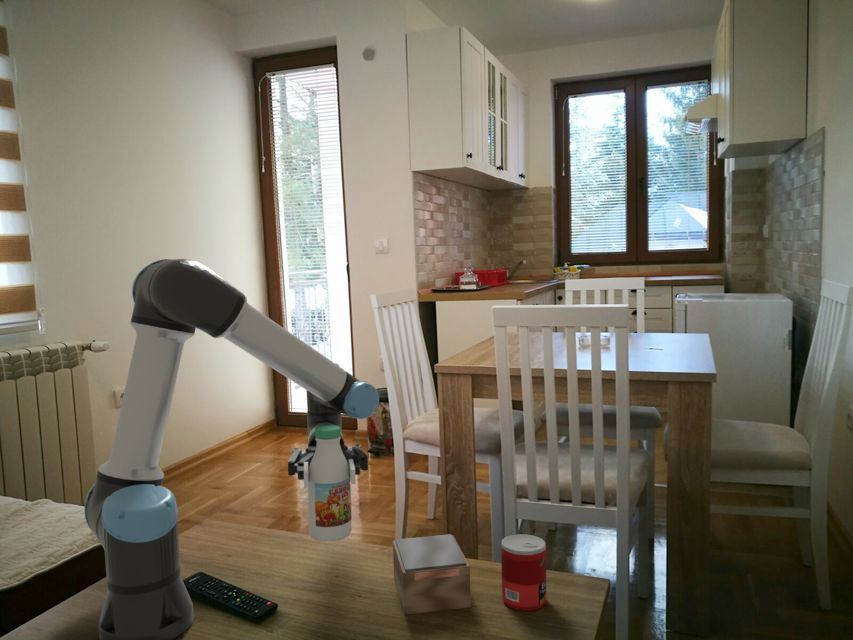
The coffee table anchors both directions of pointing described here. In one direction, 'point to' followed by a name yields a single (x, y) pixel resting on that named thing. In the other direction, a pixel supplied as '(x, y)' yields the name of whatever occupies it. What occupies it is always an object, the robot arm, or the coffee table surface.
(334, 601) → the coffee table surface
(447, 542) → the riser
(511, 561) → the canned food
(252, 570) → the coffee table surface
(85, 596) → the coffee table surface
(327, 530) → the milk bottle
